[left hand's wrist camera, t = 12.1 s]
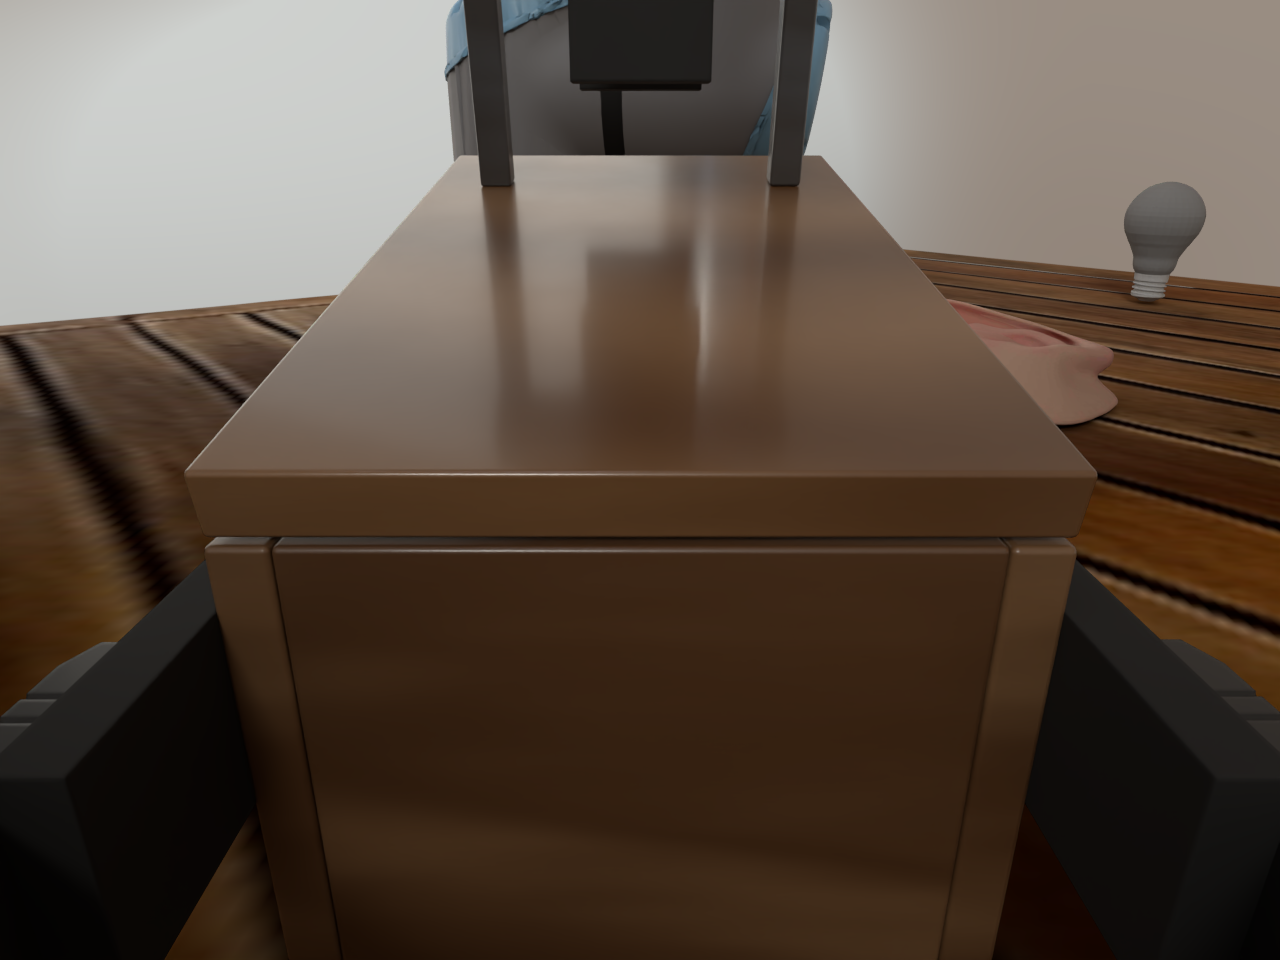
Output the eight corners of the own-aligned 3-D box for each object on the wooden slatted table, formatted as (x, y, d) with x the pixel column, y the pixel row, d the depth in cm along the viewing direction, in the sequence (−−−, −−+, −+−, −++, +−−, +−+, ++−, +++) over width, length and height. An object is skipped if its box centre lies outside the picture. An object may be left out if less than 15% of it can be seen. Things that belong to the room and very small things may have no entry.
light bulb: (1124, 305, 73) (1150, 183, 69) (1097, 294, 78) (1120, 180, 75) (1198, 307, 72) (1228, 183, 69) (1166, 295, 78) (1192, 180, 74)
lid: (462, 188, 23) (419, -209, 18) (818, 188, 23) (862, -209, 18) (202, 539, 9) (-205, -655, 5) (1079, 540, 9) (1488, -653, 5)
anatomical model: (1147, 352, 38) (887, 332, 43) (1128, 435, 40) (879, 408, 44) (1118, 305, 50) (916, 293, 54) (1104, 371, 51) (908, 354, 55)
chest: (486, 588, 26) (466, 307, 23) (793, 588, 26) (814, 307, 23) (312, 1087, 12) (199, 548, 9) (968, 1087, 12) (1082, 549, 9)
